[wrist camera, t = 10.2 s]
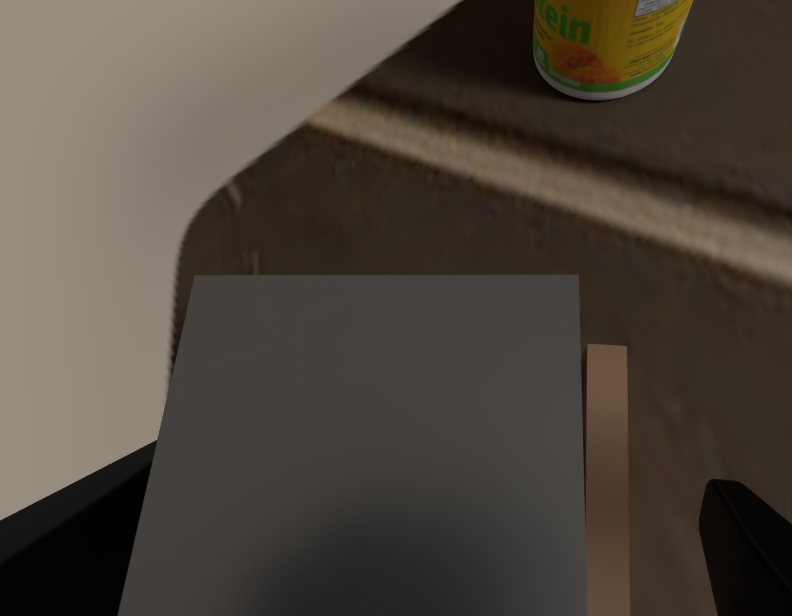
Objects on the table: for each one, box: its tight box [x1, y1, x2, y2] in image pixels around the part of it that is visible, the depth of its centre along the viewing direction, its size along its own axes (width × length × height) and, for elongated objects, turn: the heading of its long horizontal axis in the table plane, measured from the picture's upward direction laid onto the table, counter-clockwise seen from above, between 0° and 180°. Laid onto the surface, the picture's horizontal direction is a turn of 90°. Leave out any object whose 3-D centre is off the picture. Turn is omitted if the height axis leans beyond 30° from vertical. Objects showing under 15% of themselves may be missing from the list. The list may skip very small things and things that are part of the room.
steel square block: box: [118, 275, 587, 616], centre depth 11 cm, size 4×4×12 cm
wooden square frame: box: [581, 344, 630, 616], centre depth 16 cm, size 9×9×4 cm
